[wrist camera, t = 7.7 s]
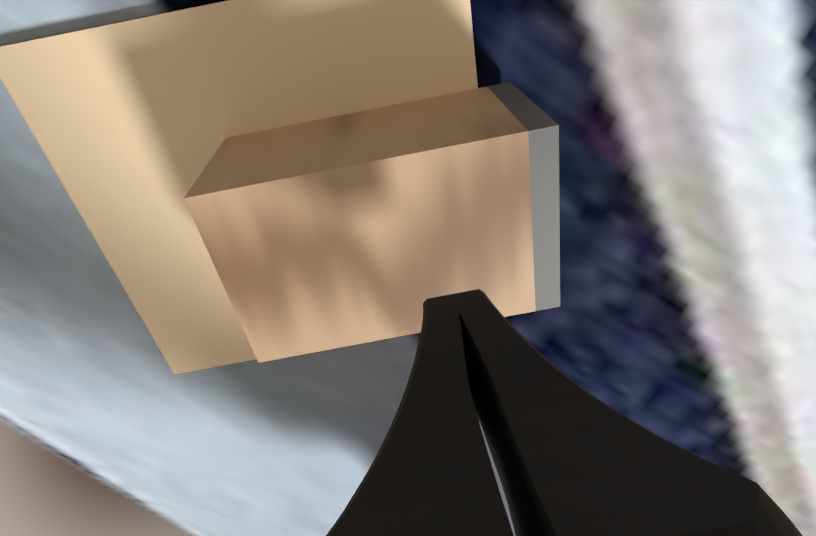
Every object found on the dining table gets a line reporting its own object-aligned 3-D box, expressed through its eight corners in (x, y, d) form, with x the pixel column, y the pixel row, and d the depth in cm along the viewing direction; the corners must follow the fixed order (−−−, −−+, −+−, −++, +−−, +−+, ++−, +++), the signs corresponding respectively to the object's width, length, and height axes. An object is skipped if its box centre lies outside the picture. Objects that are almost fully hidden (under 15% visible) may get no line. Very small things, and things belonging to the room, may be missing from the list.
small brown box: (559, 306, 16) (258, 362, 17) (518, 233, 21) (278, 278, 21) (558, 124, 13) (183, 198, 13) (510, 81, 17) (225, 137, 18)
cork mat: (496, 308, 23) (498, 314, 23) (177, 368, 23) (174, 374, 23) (463, -48, 16) (465, -48, 15) (-9, 48, 16) (-17, 50, 16)
